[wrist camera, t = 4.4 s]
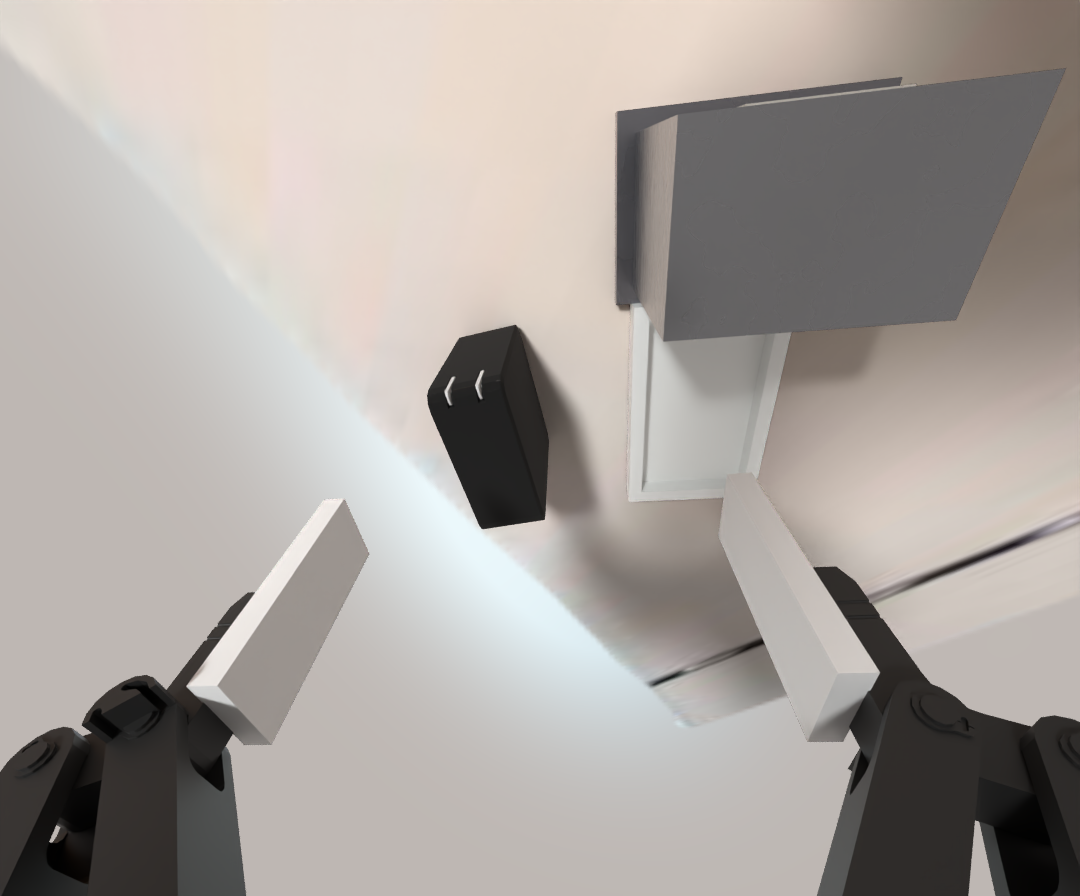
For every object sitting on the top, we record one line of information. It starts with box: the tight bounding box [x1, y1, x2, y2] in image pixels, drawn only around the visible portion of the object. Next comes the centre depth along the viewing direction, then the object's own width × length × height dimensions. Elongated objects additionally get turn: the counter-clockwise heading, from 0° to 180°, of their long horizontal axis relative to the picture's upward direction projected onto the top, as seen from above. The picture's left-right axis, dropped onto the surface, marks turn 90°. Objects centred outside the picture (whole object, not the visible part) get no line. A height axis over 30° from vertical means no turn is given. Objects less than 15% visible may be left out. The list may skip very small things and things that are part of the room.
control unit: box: [615, 68, 1066, 342], centre depth 21 cm, size 10×14×11 cm
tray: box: [626, 303, 791, 502], centre depth 32 cm, size 16×10×2 cm, turn 5°
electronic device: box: [427, 325, 549, 529], centre depth 28 cm, size 4×10×10 cm, turn 14°
